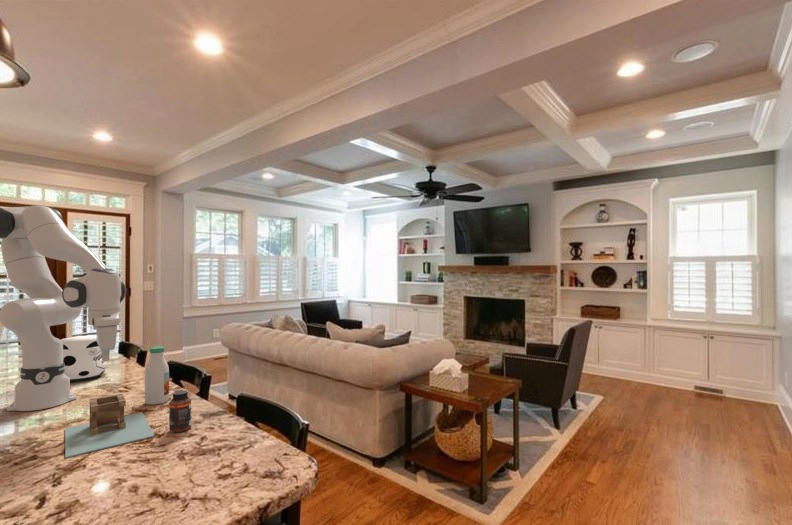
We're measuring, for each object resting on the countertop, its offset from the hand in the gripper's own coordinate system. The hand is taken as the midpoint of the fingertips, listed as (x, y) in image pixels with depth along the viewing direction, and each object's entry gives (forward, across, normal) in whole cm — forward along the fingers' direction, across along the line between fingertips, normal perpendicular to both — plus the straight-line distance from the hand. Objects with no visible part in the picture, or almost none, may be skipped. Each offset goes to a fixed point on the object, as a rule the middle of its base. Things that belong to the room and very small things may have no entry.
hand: (105, 360), depth 129 cm
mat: (+19, +13, 0) cm, 23 cm away
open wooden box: (+19, +9, 0) cm, 21 cm away
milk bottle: (+20, -9, +16) cm, 27 cm away
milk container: (+19, -67, -4) cm, 69 cm away
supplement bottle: (+20, +24, +17) cm, 36 cm away
